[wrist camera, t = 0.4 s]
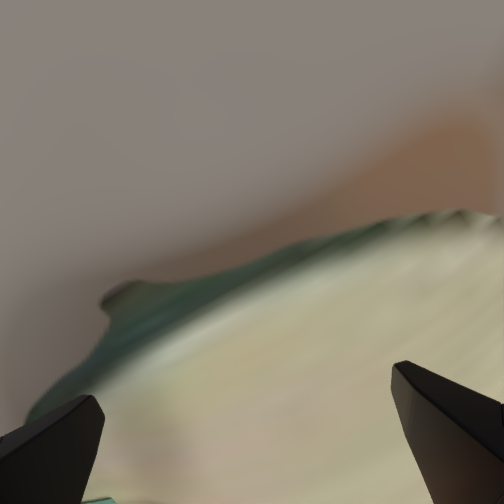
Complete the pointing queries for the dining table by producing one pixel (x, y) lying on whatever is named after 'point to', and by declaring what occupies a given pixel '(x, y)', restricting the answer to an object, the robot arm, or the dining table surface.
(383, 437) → the dining table surface
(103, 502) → the mat
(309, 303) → the dining table surface
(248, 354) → the dining table surface
